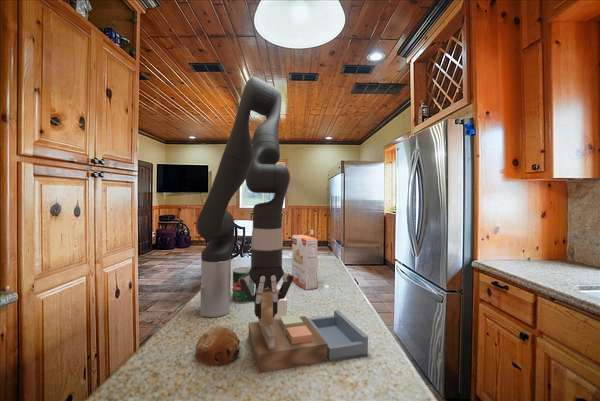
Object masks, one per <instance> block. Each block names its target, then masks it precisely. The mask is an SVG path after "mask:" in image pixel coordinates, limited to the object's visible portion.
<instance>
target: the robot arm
mask: <svg viewBox="0 0 600 401" xmlns="http://www.w3.org/2000/svg"><path fill="white" fill-rule="evenodd" d="M251 111H252V112H253V113H256V114H258V115H261V116H264V117H265V119H266V120H264V121H262V123H260V124H259V125H258V126H257V127H256V129H255V130H254V132H253V135H252V137H251V133H250V117H251ZM281 111H282V92H281V91H280V90H279V89H278V88H276V87H275V86H273V85H271V84H270V83H268V82H265V81H264V80H262V79H260V78H258V77H255V76H251V77H250V78H248V80H247V82H246V83H245V85H244V88H243V91H242V94H241V97H240V100H239V104H238V107H237V111H236V115H235V119H234V121H233V122H234V123H233V126H232V129H231V131H230V135H229V137H228V140H227V142H226V145H225V148H224V150H223V152H222V155H221V159H220V161H219V165H218V168H217V172H216V174H215V176H214V179H213V182H212V185H211V189H209V193H208V195H207V197H206V200H205V202H204V203H203V206H202V208H201V210H200V211H199V214H198V217H197V219H196V220H197V221H196V231H197V234H198V235H199V237H200V238H202V239H203V240H207V241H208V242H207V245H206V247H204V248H203V250H202V251H201V254H200V256H201V260H200V262H201V263H200V264H201V266H200V269H201V270H200V271H201V272H200V308H199V309H200V310H199V311H200V314H199V315H200V316H199V317H207V318H217V317H218V318H219V317H222V316H225V315H227V314H229V313H230V311H231V276H232V275H231V274H232V272H231V271H232V270H231V266H232V260H231V259H232V253H233V250H234V244H235V220H234V217H233V215H232V213H231V212H230V211H229V210H227V208H228V206H229V204H230V202H231V200H232V198H233V197H234V195H235V194H236V193H237V191H239V189H240V188H241V187H242V185H243V184H244V182H245V185H246V188H248V190H249V191H251V192H252V193H255V194H274V195H273V197H272V198H271V200H269V201H265V202H259V203H256V204H255V205H254V206H253V208H252V230H251V232H252V233H251V238H250V239H251V248H250V250H251V252H250V255H251V256H250V267H251V269H250V271H249V274H248V275H246V276H244V277H239V282H240V284H241V286H242V288H243V291H244V293H245V295H246V297H247V299H248V301H249V303H253V304H254V309H253V310H254V315H255V317H257V320H258V319H261V295H262V293H263V289H265V288H270V289H271V290H272V293H273V318H274V317H275V314H277V309H278V300H280V299H284V298H285V297H287V294H288V291H289V289H290V287H291V284H292V282H293V276H292V273H290V272H289V273H287V272H284V269H283V245H284V242H283V231H282V230H283V229H282V226H283V224H282V223H283V220H282V219H283V217H282V216H283V208H284V202H285V197H286V195H287V191H288V188H289V185H290V181H291V180H290V179H291V174H290V171H289V169H288V168H287V166H285V165H284V164H278V163H279V161H280V158H281V150H280V140H279V128H280V119H281V118H280V117H281ZM250 278H251V280H252V281H253V282H254V295H252V294H251V293H250V290H249V288H248V286H247V285H249V279H250ZM281 279H282V284H281V285H280V286H281V288H280V290H279V292H278V293H277V286H278V283H280V280H281Z"/></svg>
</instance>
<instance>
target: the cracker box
mask: <svg viewBox="0 0 600 401" xmlns="http://www.w3.org/2000/svg"><path fill="white" fill-rule="evenodd" d="M291 237H292V238H291V241H292V242H291V243H292V244H291V250H292V251H291V275H292V276H293V281H292V282H293V283H294V284H296V285H298V286H299V287H300V288H302V289H303V290H304V291H308V290H314V289H318V249H319V248H318V247H319V246H318V240H319V239H318V238H315V237H312V236H309V235H306V234H292V236H291Z"/></svg>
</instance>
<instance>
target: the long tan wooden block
mask: <svg viewBox="0 0 600 401" xmlns="http://www.w3.org/2000/svg"><path fill="white" fill-rule="evenodd" d="M257 320H258V321H257V322H258V323H259V326H260V329H261V331H262V334H263V336H264V339H265V341H266V344H267V346H268V349H269V350H272V349H274V334H273V332H272V330H271V327H270V325H273V320H274V317H273V293H272V290H271V289H270V288H265V289H263V293H262V295H261V319H258V318H257Z"/></svg>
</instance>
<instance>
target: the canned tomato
mask: <svg viewBox="0 0 600 401" xmlns="http://www.w3.org/2000/svg"><path fill="white" fill-rule="evenodd" d="M250 269H251V266H250V267H249V266H241V267H235V268H233V269H232V295H231V298H232V302H233V303H236V304H247V303H250V302H249V301H248V299H247V297H246V295H245V293H244V291H243V288H242V286H241V284H240V282H239V277H244V276H246V275H248V274H249V271H250ZM247 286H248V288H249V290H250V293H251V294H252V295H255V283H254V282H253V281H252V280H251V278H250V279H249V285H247Z"/></svg>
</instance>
